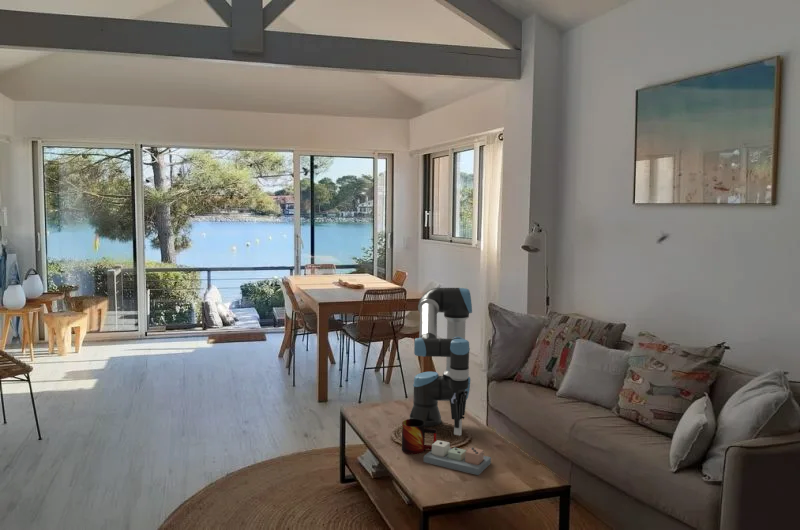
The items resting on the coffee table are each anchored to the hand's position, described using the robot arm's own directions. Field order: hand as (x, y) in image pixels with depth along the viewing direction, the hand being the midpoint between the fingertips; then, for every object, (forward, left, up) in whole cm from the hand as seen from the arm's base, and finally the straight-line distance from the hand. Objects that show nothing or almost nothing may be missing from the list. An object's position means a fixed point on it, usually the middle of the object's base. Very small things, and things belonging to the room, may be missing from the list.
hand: (457, 434), depth 261 cm
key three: (0, +8, -10) cm, 12 cm away
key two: (0, 0, -11) cm, 11 cm away
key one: (0, -7, -10) cm, 12 cm away
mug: (-3, -20, -12) cm, 23 cm away
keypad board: (0, 0, -12) cm, 12 cm away
